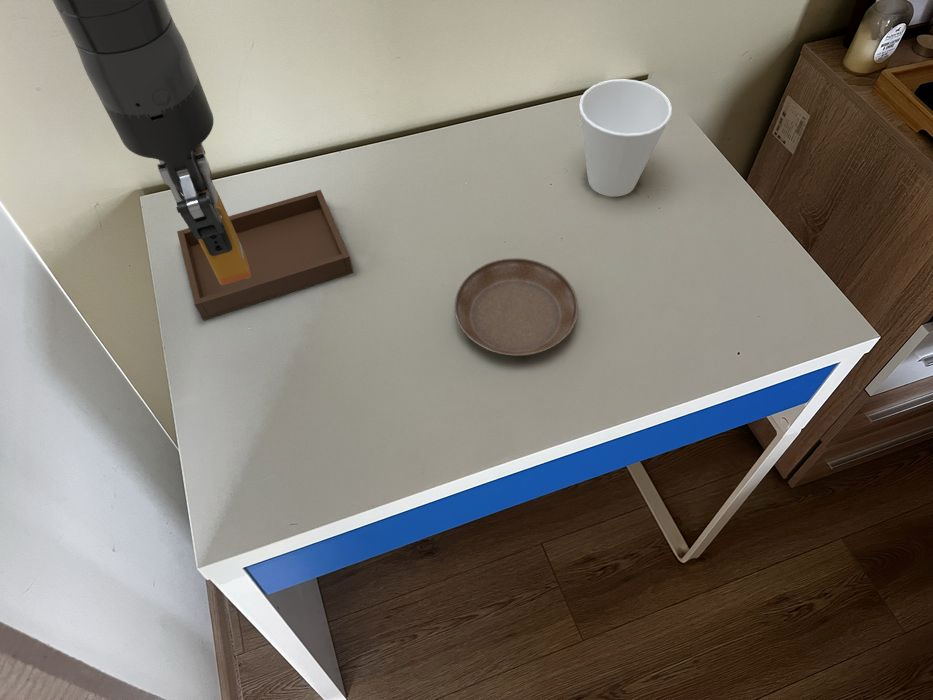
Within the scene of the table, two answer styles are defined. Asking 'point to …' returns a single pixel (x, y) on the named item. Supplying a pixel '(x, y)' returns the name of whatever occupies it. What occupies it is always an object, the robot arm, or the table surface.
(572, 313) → the saucer
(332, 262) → the tray
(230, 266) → the supplement box
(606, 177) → the cup
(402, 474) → the table surface
